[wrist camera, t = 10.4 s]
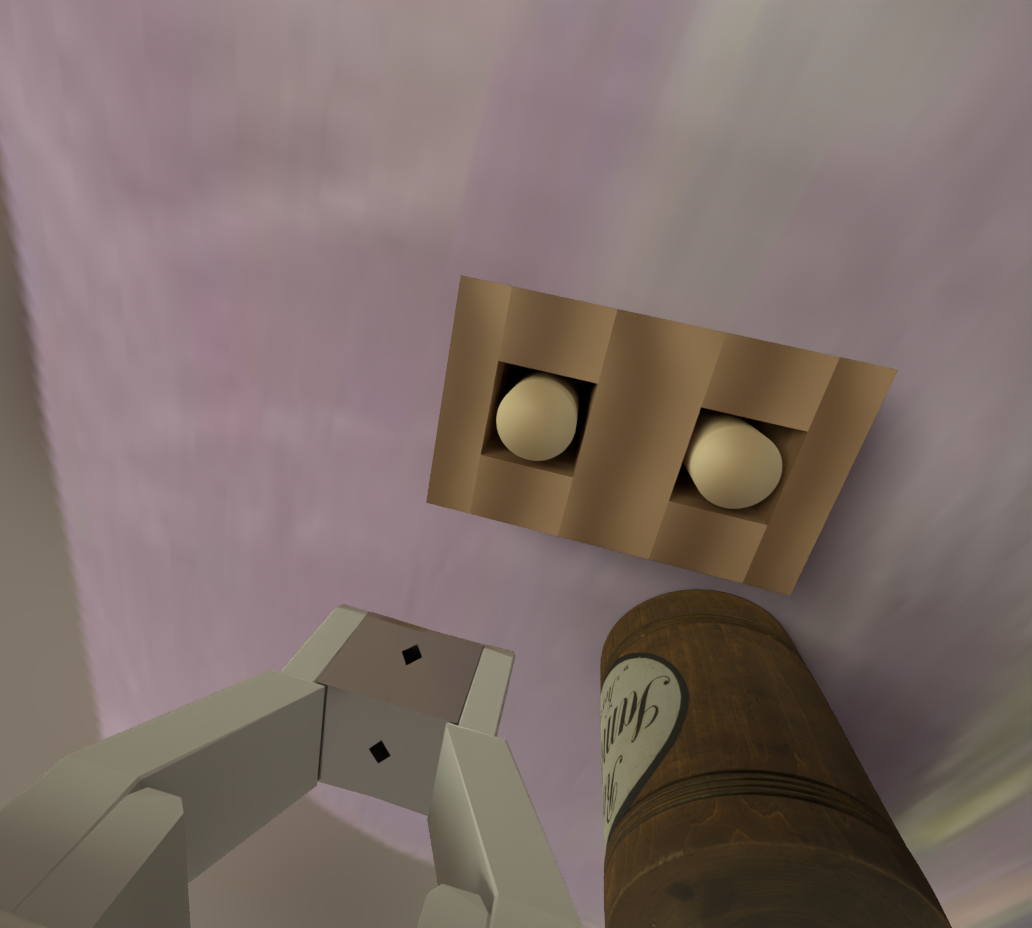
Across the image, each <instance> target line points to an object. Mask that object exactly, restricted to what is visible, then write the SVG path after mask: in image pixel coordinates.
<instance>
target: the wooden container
mask: <svg viewBox="0 0 1032 928" xmlns="http://www.w3.org/2000/svg"><path fill="white" fill-rule="evenodd" d="M600 708H601V718H600V719H601V720H600V730H601V763H602V785H603V817H604V842H605V861H604V912H605V928H952V927H951V925H950V923H949V921H948V919H947V917H946V915H945V913H944V911H943V909H942V907H941V905H940V903H939V901H938V899H937V897H936V895H935V893H934V892H933V890H932V888H931V886H930V884H929V883H928V881H927V879H926V877H925V876H924V874H923V872H922V871H921V869H920V867H919V865H918V864H917V862H916V860H915V859H914V857H913V856H912V854H911V853H910V851H909V850H908V848H907V847H906V845H905V843H904V841H903V839H902V838H901V836H900V834H899V832H898V830H897V828H896V827H895V825H894V823H893V821H892V820H891V818H890V816H889V814H888V812H887V811H886V809H885V807H884V805H883V803H882V801H881V800H880V798H879V796H878V794H877V792H876V791H875V789H874V787H873V785H872V783H871V782H870V780H869V778H868V776H867V774H866V773H865V771H864V769H863V767H862V765H861V763H860V762H859V760H858V758H857V756H856V754H855V752H854V750H853V748H852V746H851V745H850V743H849V741H848V739H847V737H846V735H845V733H844V731H843V729H842V727H841V726H840V724H839V722H838V720H837V718H836V717H835V715H834V713H833V711H832V710H831V708H830V706H829V704H828V702H827V700H826V699H825V697H824V695H823V694H822V692H821V690H820V688H819V687H818V685H817V683H816V681H815V680H814V678H813V676H812V674H811V673H810V671H809V670H808V668H807V667H806V665H805V663H804V661H803V659H802V658H801V656H800V654H799V653H798V651H797V649H796V648H795V646H794V644H793V642H792V641H791V639H790V638H789V636H788V634H787V633H786V632H785V630H784V629H783V628H782V626H781V625H780V624H779V623H778V621H777V620H776V619H775V618H773V617H772V616H771V615H770V614H769V613H768V612H766V611H765V610H764V609H762V608H761V607H759V606H757V605H755V604H754V603H752V602H750V601H748V600H745V599H743V598H740V597H737V596H734V595H731V594H727V593H723V592H718V591H711V590H683V591H676V592H671V593H666V594H663V595H660V596H657V597H654V598H651V599H649V600H647V601H645V602H643V603H641V604H639V605H637V606H636V607H634V608H633V609H632V610H630V611H629V612H628V613H626V614H625V615H624V616H623V617H622V618H621V619H620V620H619V621H618V622H617V623H616V624H615V626H614V627H613V628H612V630H611V632H610V633H609V635H608V637H607V639H606V641H605V644H604V647H603V651H602V656H601V699H600Z"/></svg>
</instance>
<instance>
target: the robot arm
mask: <svg viewBox="0 0 1032 928" xmlns="http://www.w3.org/2000/svg"><path fill="white" fill-rule="evenodd" d="M514 660H515V653H514V652H513V651H509V650H505V649H501V648H498V647H494V646H490V645H484V644H480V643H476V642H473V641H469V640H465V639H462V638H458V637H454V636H451V635H447V634H443V633H440V632H436V631H432V630H429V629H425V628H422V627H419V626H416V625H412V624H409V623H406V622H403V621H399V620H396V619H393V618H390V617H386V616H383V615H380V614H377V613H373V612H371V613H370V612H368V611H365V610H362V609H358V608H355V607H352V606H349V605H345V604H342V605H340V606H338V607H337V608H335V609H334V610H333V611H332V613H331V614H330V615H329V616H328V617H327V618H326V619H325V621H324V622H323V623H322V624H321V625H320V626H319V628H318V629H317V630H316V631H315V632H314V633H313V634H312V636H311V637H310V638H309V639H308V640H307V641H306V643H305V644H304V645H303V646H302V647H301V648H300V649H299V651H298V652H297V653H296V654H295V655H294V656H293V658H292V659H291V660H290V661H289V662H288V663H287V664H286V666H285V667H284V668H283V669H282V670H281V671H280V672H276V671H272V670H269V671H266V672H264V673H262V674H259V675H257V676H254V677H252V678H250V679H247V680H245V681H243V682H240V683H238V684H235V685H233V686H231V687H228V688H226V689H223V690H221V691H219V692H216V693H214V694H211V695H209V696H207V697H204V698H202V699H199V700H197V701H195V702H192V703H190V704H188V705H185V706H183V707H180V708H178V709H176V710H173V711H171V712H168V713H166V714H164V715H161V716H159V717H156V718H154V719H152V720H149V721H147V722H145V723H142V724H140V725H137V726H135V727H133V728H130V729H128V730H125V731H123V732H121V733H118V734H116V735H113V736H111V737H109V738H106V739H104V740H101V741H99V742H97V743H94V744H92V745H90V746H87V747H85V748H82V749H80V750H78V751H75V752H73V753H70V754H68V755H66V756H65V757H63V758H62V759H61V760H60V761H59V762H58V763H56V764H55V765H54V766H53V767H52V768H51V769H49V770H48V771H47V772H46V773H45V774H43V775H42V776H41V777H40V778H39V779H37V780H36V781H35V782H34V783H33V784H32V785H30V786H29V787H28V788H27V789H26V790H25V791H24V792H22V793H21V794H20V795H19V796H17V797H16V798H15V799H14V800H13V801H11V802H10V803H9V804H8V805H7V806H6V807H4V808H3V809H2V810H1V811H0V928H190V911H189V896H188V883H189V882H190V881H192V880H193V879H194V878H196V877H197V876H198V875H200V874H201V873H202V872H204V871H205V870H206V869H207V868H209V867H210V866H211V865H213V864H214V863H215V862H217V861H218V860H219V859H221V858H222V857H223V856H225V855H226V854H227V853H229V852H230V851H231V850H233V849H234V848H235V847H236V846H238V845H239V844H240V843H242V842H243V841H244V840H246V839H247V838H248V837H250V836H251V835H252V834H253V833H255V832H256V831H258V830H259V829H260V828H262V827H263V826H264V825H265V824H267V823H268V822H269V821H271V820H272V819H273V818H275V817H276V816H277V815H279V814H280V813H281V812H283V811H284V810H285V809H286V808H288V807H289V806H290V805H292V804H293V803H294V802H296V801H297V800H298V799H300V798H301V797H302V796H304V795H305V794H306V793H308V792H309V791H310V790H312V789H313V788H314V787H315V786H317V781H319V782H322V783H326V784H329V785H333V786H336V787H340V788H344V789H347V790H351V791H354V792H358V793H361V794H365V795H369V796H372V797H375V798H378V799H381V800H384V801H386V802H389V803H392V804H395V805H398V806H401V807H404V808H406V809H409V810H412V811H415V812H418V813H421V814H424V815H426V816H428V818H427V821H428V827H429V833H430V839H431V846H432V852H433V858H434V864H435V871H436V877H437V883H438V887H436V888H435V889H434V890H432V891H431V892H429V893H428V894H427V897H426V900H425V904H424V906H423V910H422V913H421V917H420V920H419V923H418V926H417V928H582V924H581V922H580V919H579V917H578V914H577V912H576V909H575V907H574V904H573V902H572V899H571V897H570V895H569V892H568V890H567V887H566V885H565V882H564V880H563V877H562V875H561V873H560V870H559V868H558V865H557V863H556V860H555V858H554V855H553V853H552V851H551V848H550V846H549V843H548V841H547V838H546V836H545V833H544V831H543V829H542V826H541V824H540V821H539V819H538V816H537V814H536V811H535V809H534V807H533V804H532V802H531V799H530V797H529V794H528V792H527V789H526V787H525V785H524V782H523V780H522V777H521V775H520V772H519V770H518V767H517V765H516V763H515V760H514V758H513V755H512V753H511V750H510V748H509V745H508V743H507V741H506V740H504V739H501V738H498V737H497V733H498V729H499V724H500V720H501V716H502V711H503V707H504V703H505V698H506V694H507V690H508V686H509V681H510V677H511V673H512V668H513V664H514Z"/></svg>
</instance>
